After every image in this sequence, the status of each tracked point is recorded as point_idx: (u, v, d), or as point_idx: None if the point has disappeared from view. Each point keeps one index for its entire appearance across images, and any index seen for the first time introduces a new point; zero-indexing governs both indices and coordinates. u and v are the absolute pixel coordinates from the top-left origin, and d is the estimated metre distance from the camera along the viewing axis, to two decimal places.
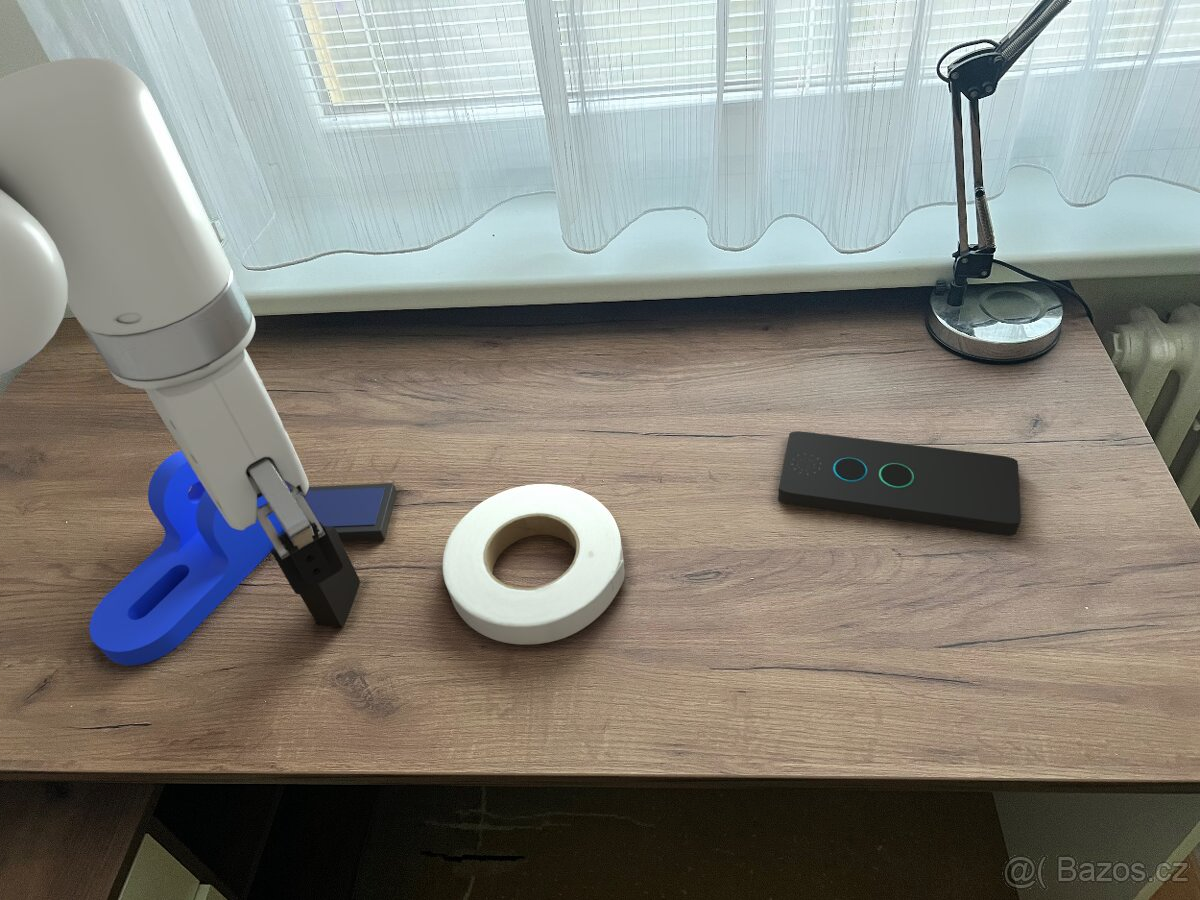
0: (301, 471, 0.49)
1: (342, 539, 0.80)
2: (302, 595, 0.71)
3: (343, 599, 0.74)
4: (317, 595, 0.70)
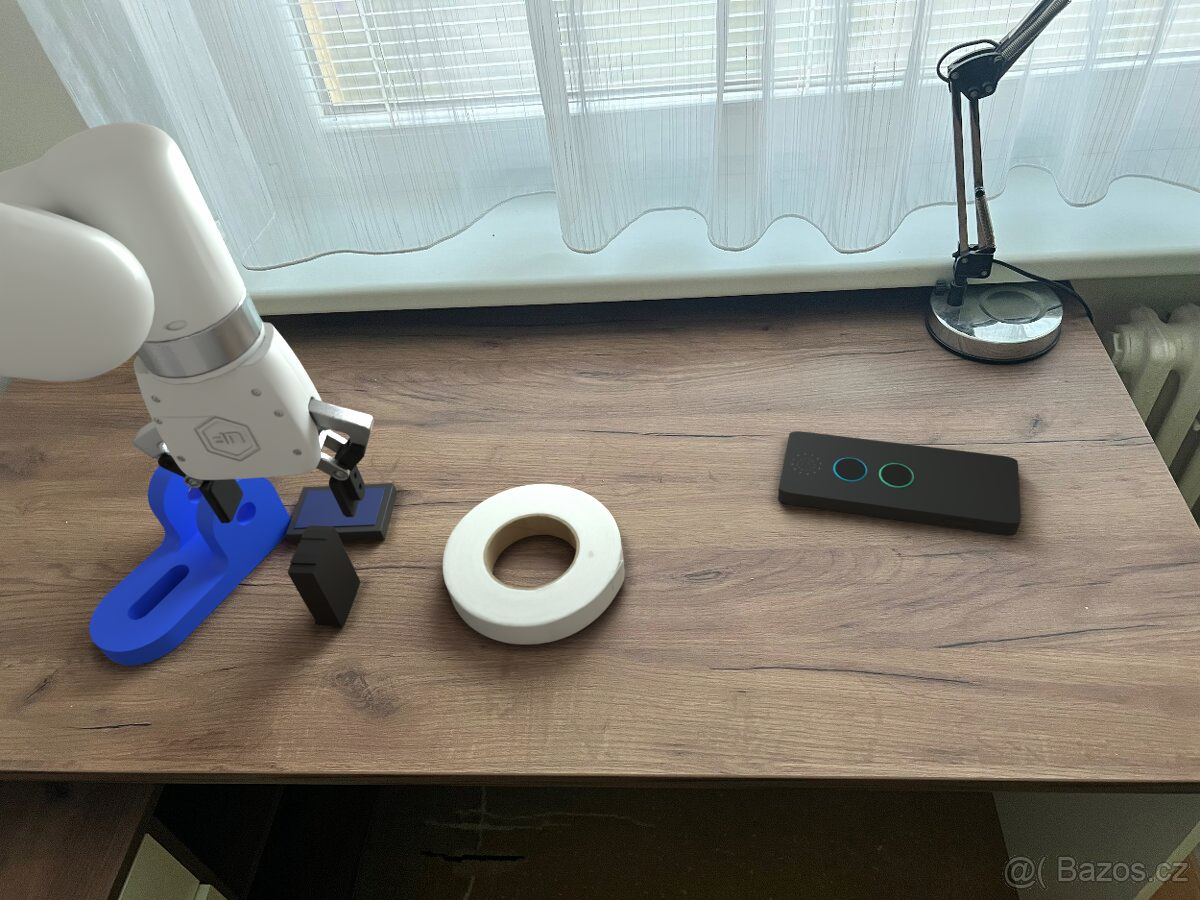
0: None
1: (342, 539, 0.80)
2: (302, 595, 0.71)
3: (343, 599, 0.74)
4: (317, 595, 0.70)
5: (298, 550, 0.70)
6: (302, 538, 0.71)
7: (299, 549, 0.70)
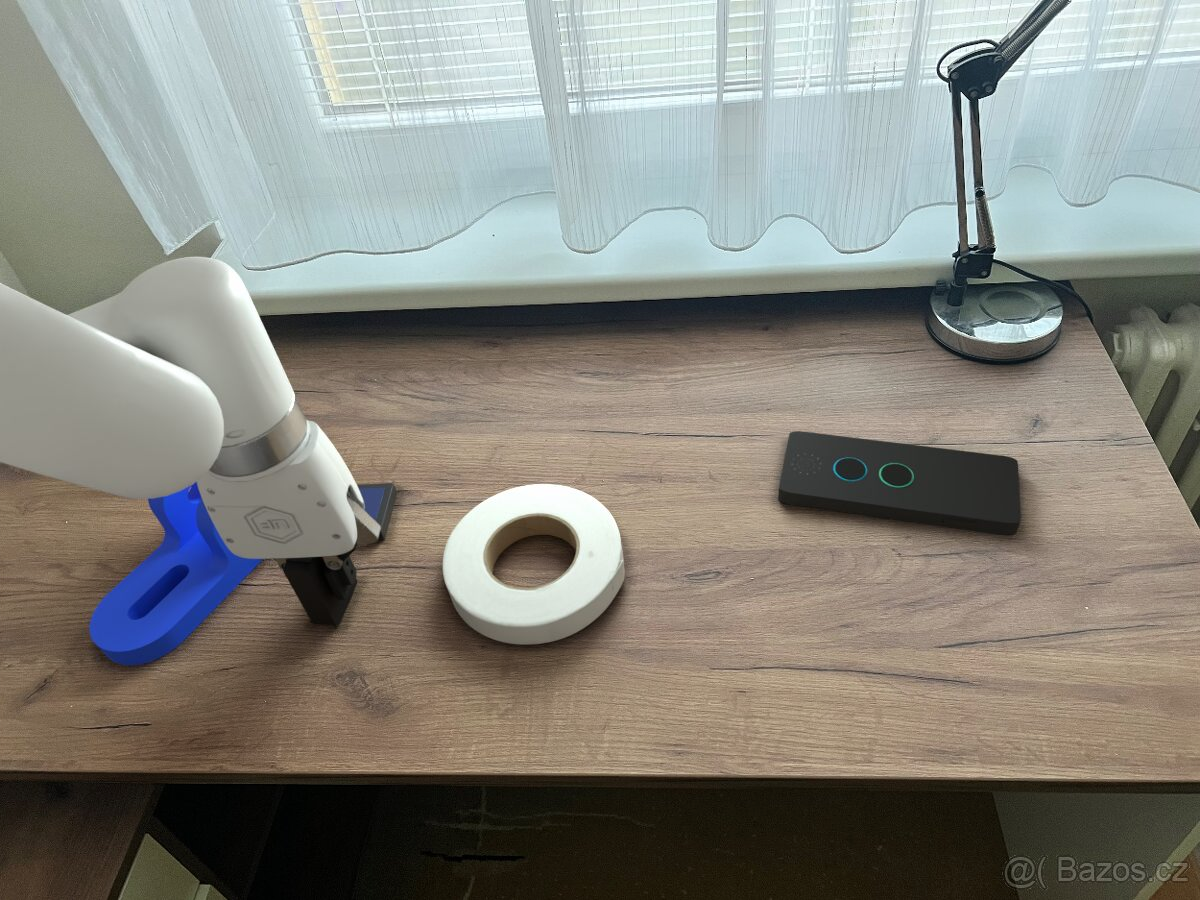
0: (359, 492, 0.68)
1: None
2: (297, 593, 0.71)
3: None
4: (312, 593, 0.70)
5: None
6: None
7: None
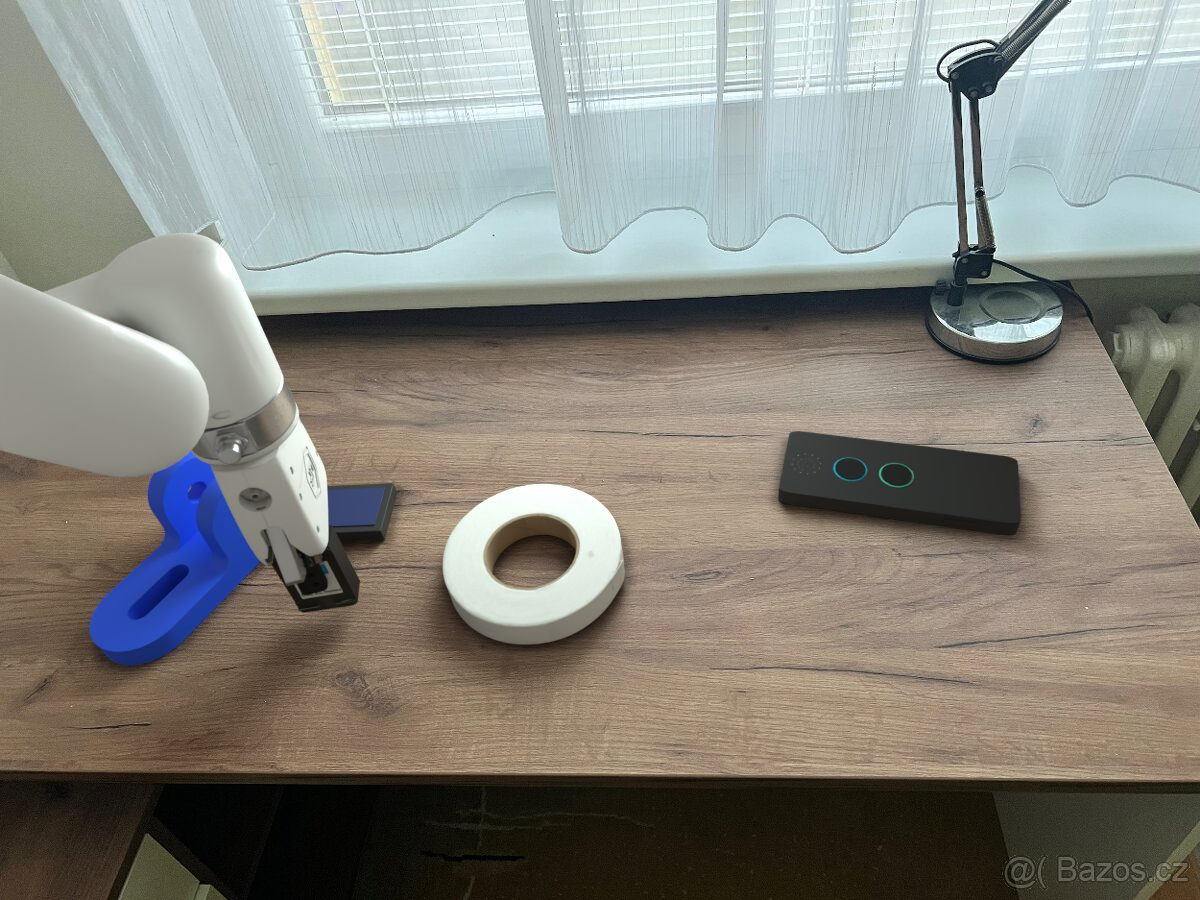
0: None
1: (342, 539, 0.80)
2: (341, 567, 0.70)
3: None
4: (342, 553, 0.71)
5: None
6: None
7: None
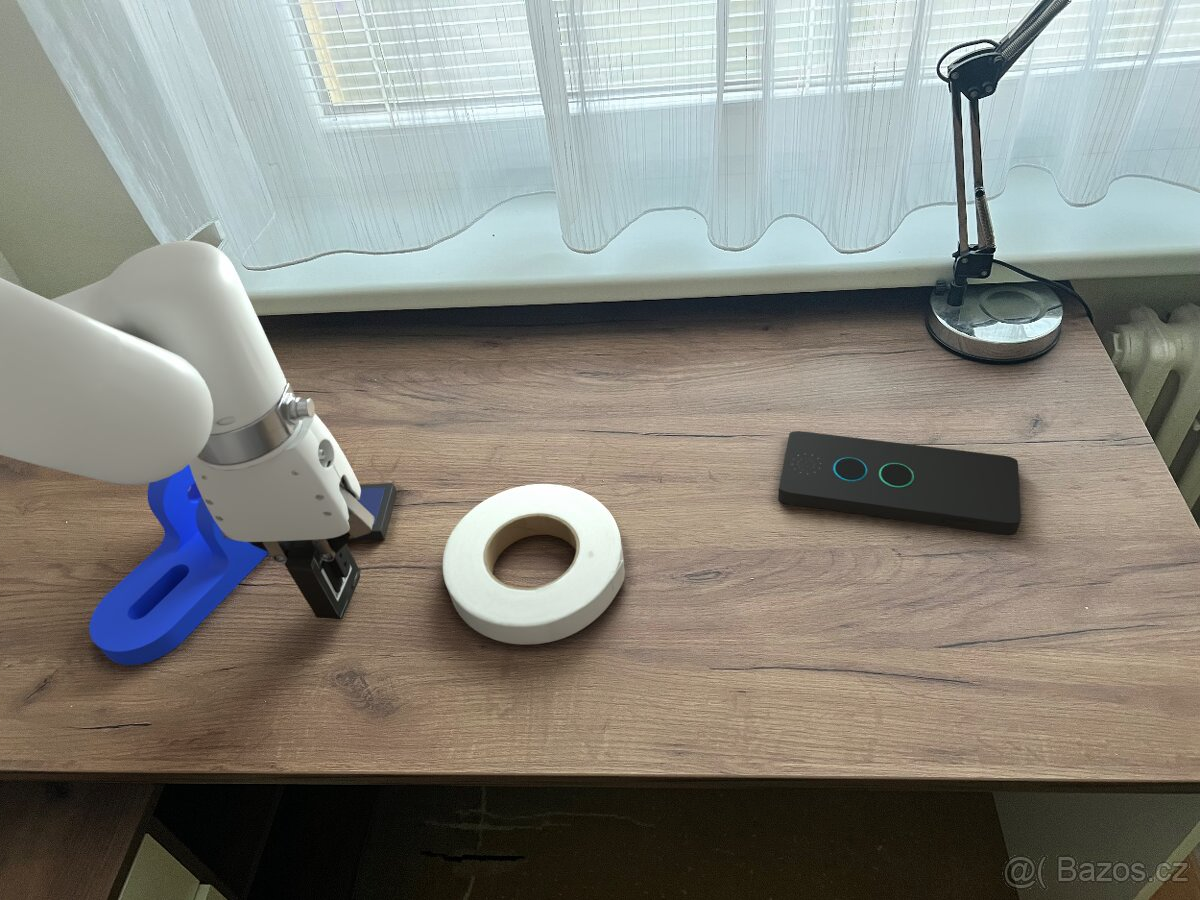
0: (217, 524, 0.65)
1: None
2: None
3: None
4: None
5: None
6: None
7: None
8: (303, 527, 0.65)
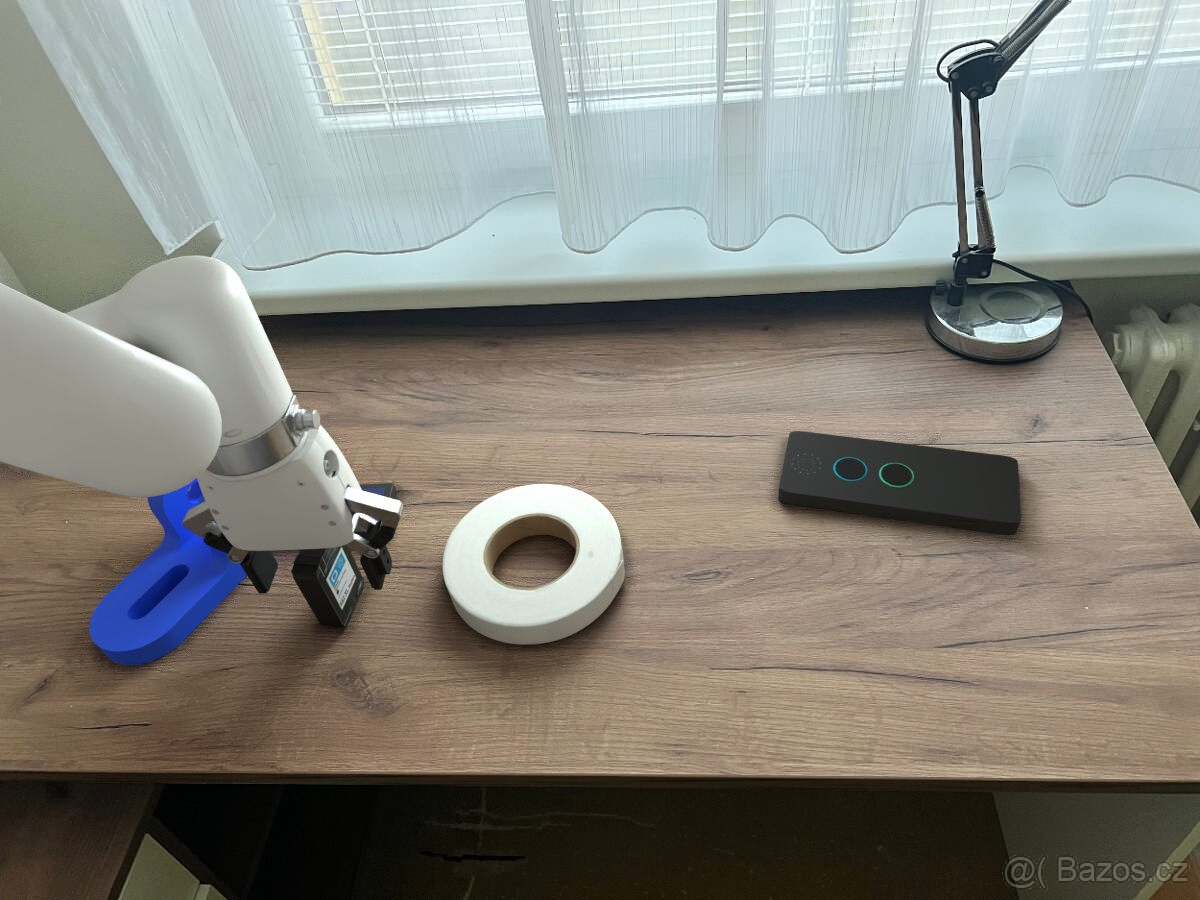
0: (223, 534, 0.66)
1: None
2: None
3: None
4: None
5: None
6: (321, 556, 0.69)
7: None
8: (308, 536, 0.65)
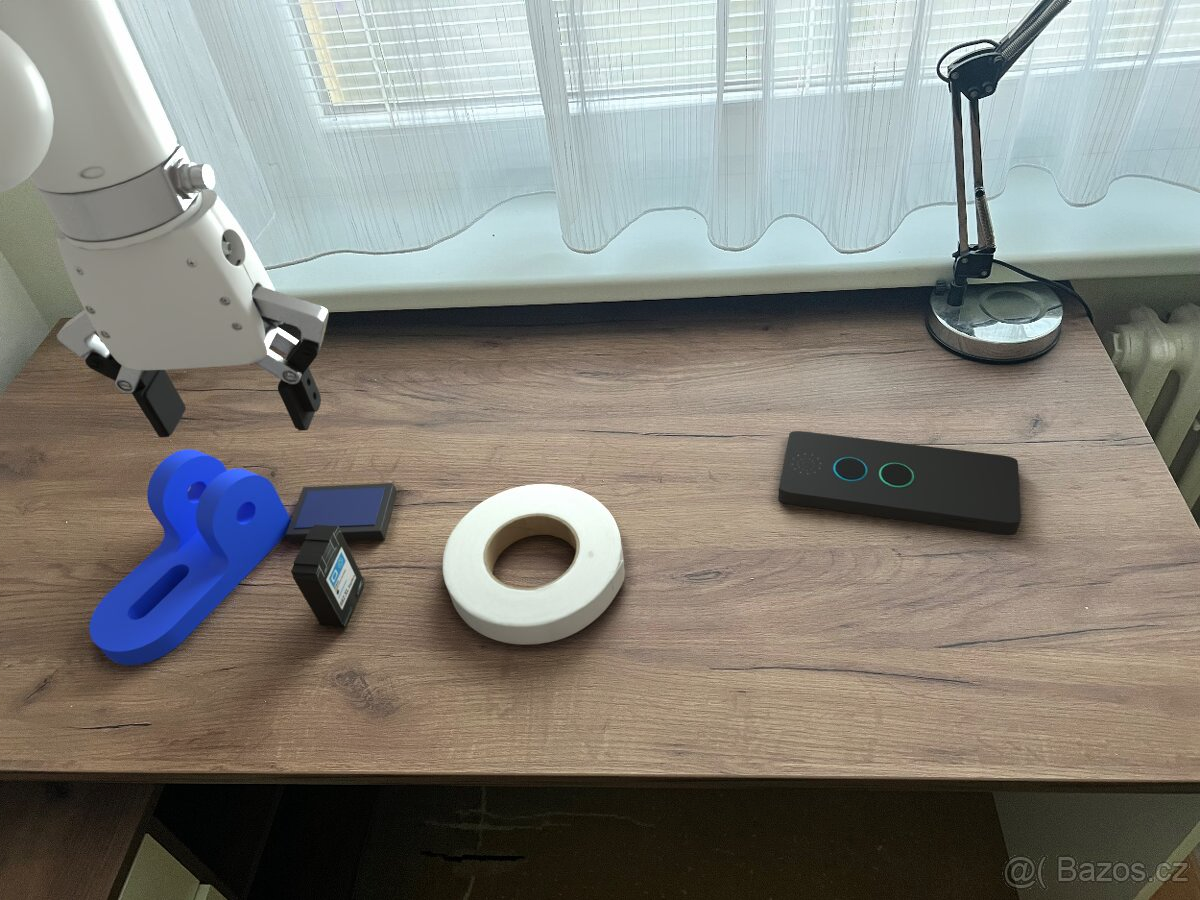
0: (104, 345, 0.54)
1: None
2: None
3: None
4: None
5: (325, 544, 0.70)
6: (321, 556, 0.69)
7: (324, 545, 0.70)
8: (209, 347, 0.53)
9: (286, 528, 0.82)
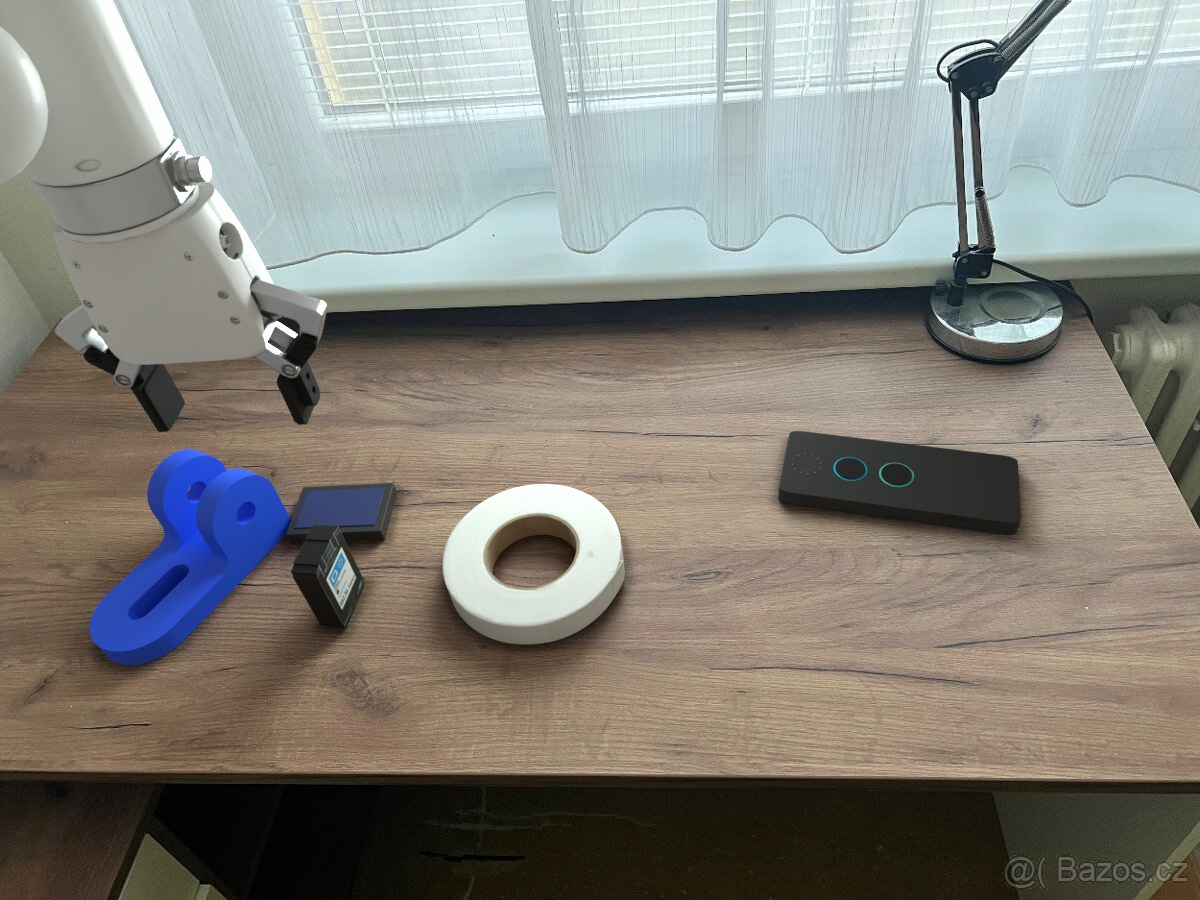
0: (102, 340, 0.53)
1: None
2: None
3: None
4: None
5: (325, 544, 0.70)
6: (321, 556, 0.69)
7: (324, 545, 0.70)
8: (207, 340, 0.53)
9: (286, 528, 0.82)
